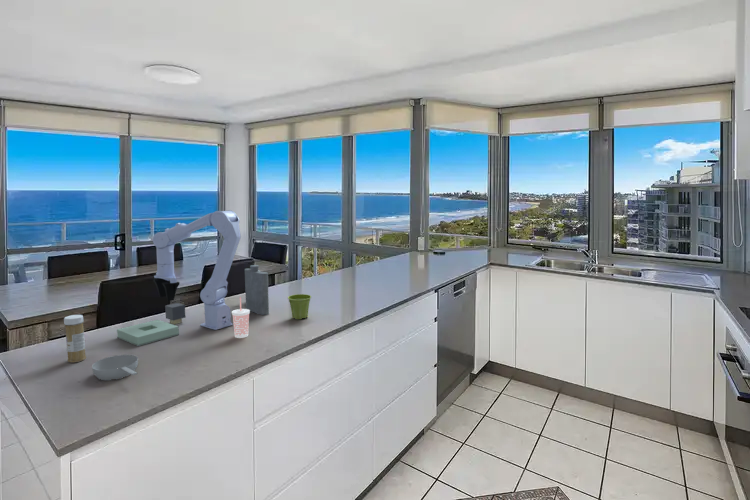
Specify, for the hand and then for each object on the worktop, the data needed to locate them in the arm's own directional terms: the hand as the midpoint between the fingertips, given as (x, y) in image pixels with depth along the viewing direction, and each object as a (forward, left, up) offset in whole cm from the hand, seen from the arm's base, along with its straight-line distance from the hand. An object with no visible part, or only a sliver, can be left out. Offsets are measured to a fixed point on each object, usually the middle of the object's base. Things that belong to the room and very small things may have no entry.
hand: (166, 298), depth 156 cm
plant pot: (-36, -35, -10) cm, 51 cm away
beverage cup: (-35, -7, -10) cm, 37 cm away
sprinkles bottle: (-13, +35, -10) cm, 39 cm away
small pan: (-36, +33, -10) cm, 50 cm away
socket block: (-9, +12, -10) cm, 18 cm away
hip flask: (-14, -31, -10) cm, 35 cm away
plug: (-2, -2, -10) cm, 10 cm away
